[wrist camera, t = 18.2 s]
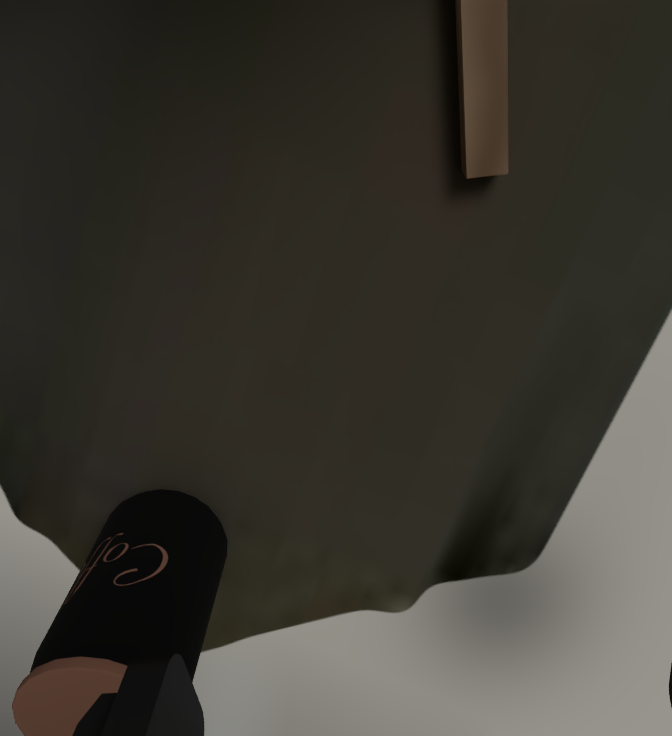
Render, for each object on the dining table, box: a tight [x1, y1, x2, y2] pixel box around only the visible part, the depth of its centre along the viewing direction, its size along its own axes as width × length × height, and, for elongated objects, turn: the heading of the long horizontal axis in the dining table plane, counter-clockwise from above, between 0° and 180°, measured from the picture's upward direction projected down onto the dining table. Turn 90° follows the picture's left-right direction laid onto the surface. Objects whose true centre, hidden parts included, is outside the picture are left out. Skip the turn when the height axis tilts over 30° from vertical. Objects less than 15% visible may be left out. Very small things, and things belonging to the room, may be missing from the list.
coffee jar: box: [12, 489, 227, 736], centre depth 49 cm, size 11×11×18 cm
